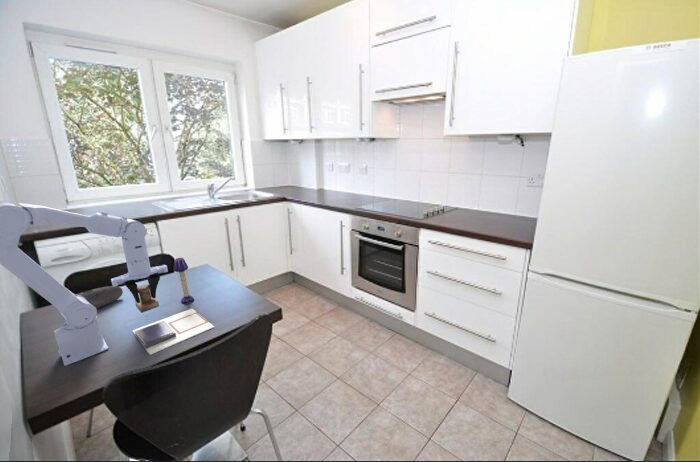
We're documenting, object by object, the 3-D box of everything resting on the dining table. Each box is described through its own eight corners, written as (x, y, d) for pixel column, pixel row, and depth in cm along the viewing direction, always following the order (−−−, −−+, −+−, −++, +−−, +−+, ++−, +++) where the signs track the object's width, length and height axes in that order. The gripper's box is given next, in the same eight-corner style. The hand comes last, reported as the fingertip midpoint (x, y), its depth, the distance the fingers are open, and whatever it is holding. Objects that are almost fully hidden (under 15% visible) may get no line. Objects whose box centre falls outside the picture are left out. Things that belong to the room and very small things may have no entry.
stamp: (141, 313, 97) (136, 293, 95) (136, 306, 100) (131, 287, 98) (159, 306, 100) (154, 287, 98) (153, 300, 104) (149, 282, 101)
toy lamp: (187, 305, 113) (180, 261, 109) (176, 303, 114) (168, 260, 110) (196, 298, 118) (189, 256, 113) (185, 297, 119) (178, 256, 114)
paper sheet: (150, 355, 87) (149, 353, 86) (132, 331, 98) (132, 330, 98) (214, 327, 99) (214, 326, 99) (192, 309, 110) (192, 308, 110)
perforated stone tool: (121, 296, 121) (117, 279, 119) (127, 299, 118) (123, 282, 116) (72, 313, 109) (66, 294, 107) (77, 317, 106) (72, 298, 104)
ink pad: (145, 348, 89) (144, 344, 88) (135, 335, 95) (134, 330, 95) (176, 336, 94) (175, 332, 94) (164, 324, 101) (163, 320, 101)
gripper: (112, 269, 88) (122, 312, 91) (168, 255, 98) (175, 295, 102) (105, 263, 92) (115, 305, 96) (160, 250, 102) (167, 288, 106)
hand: (145, 299), depth 99 cm, fingers closed on stamp, 4 cm apart
